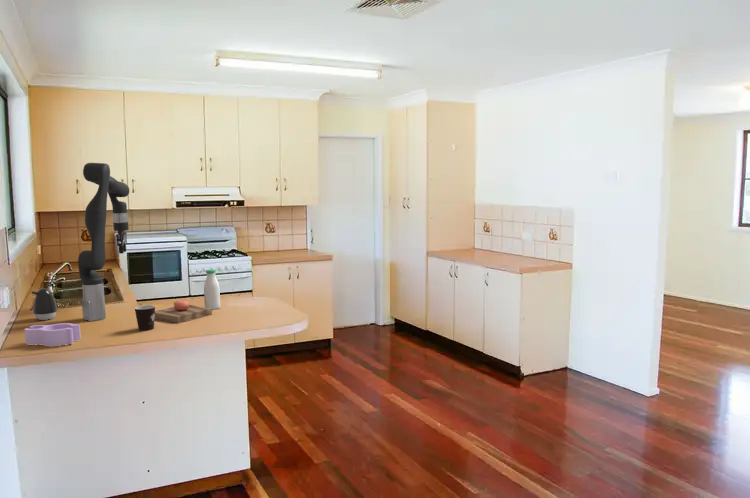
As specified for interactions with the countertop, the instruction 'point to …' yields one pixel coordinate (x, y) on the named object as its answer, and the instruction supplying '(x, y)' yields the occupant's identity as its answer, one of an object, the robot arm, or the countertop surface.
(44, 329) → the purple low wavy piece
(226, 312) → the countertop surface
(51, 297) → the pump dispenser
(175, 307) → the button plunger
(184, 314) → the wooden cutting board
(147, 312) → the coffee mug
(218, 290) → the milk bottle
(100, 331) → the countertop surface
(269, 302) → the countertop surface
